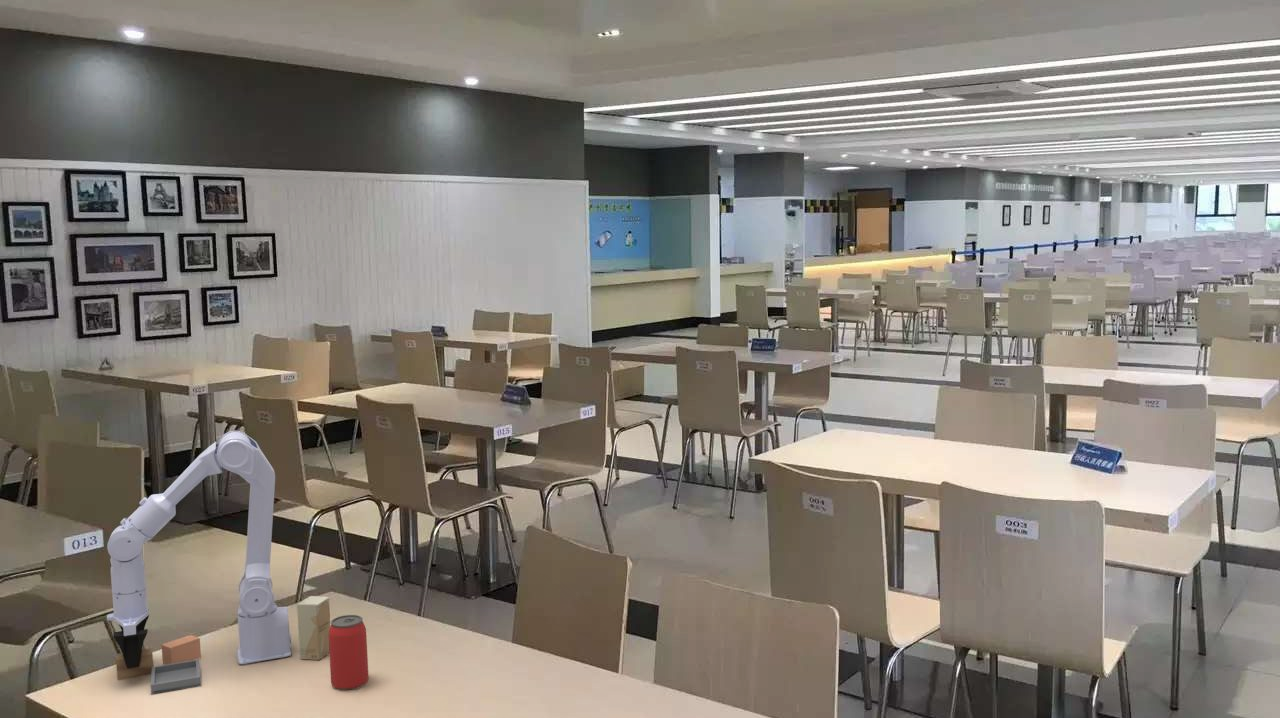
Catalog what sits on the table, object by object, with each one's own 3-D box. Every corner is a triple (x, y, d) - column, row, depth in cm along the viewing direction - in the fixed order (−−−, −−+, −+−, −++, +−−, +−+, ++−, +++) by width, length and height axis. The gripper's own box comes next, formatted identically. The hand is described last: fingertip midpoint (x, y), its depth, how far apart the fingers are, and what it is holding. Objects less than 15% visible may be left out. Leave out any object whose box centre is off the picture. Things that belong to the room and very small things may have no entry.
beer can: (375, 678, 190) (372, 615, 189) (354, 693, 184) (351, 628, 183) (345, 674, 193) (342, 612, 191) (323, 688, 186) (320, 624, 185)
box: (319, 660, 199) (316, 605, 198) (299, 659, 200) (295, 604, 199) (332, 650, 204) (329, 596, 203) (312, 649, 205) (309, 594, 204)
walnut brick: (153, 668, 198) (152, 648, 197) (153, 674, 195) (151, 654, 194) (118, 674, 195) (116, 653, 195) (117, 680, 192) (115, 659, 192)
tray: (199, 667, 197) (199, 658, 197) (200, 685, 189) (200, 676, 189) (152, 675, 194) (151, 666, 194) (151, 694, 185) (150, 685, 185)
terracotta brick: (192, 654, 204) (190, 634, 204) (201, 657, 202) (199, 638, 202) (162, 664, 199) (161, 644, 199) (171, 668, 197) (170, 648, 197)
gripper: (107, 581, 198) (112, 649, 200) (102, 604, 185) (108, 677, 186) (148, 576, 201) (153, 643, 202) (146, 598, 188) (151, 670, 189)
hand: (134, 659), depth 195 cm, fingers open, 7 cm apart
